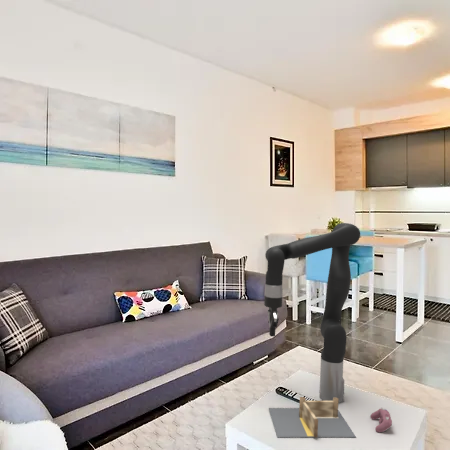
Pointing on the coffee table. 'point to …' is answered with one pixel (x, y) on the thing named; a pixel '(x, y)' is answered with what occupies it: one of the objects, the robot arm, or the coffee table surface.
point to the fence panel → (310, 419)
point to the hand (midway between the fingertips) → (272, 335)
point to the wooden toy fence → (321, 407)
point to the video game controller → (382, 419)
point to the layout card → (297, 428)
